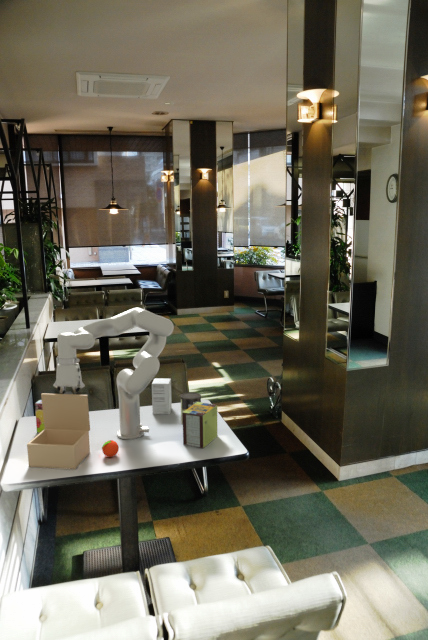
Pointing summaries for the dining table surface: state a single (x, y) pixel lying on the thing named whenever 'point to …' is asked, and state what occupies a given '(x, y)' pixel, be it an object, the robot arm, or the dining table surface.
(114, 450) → the clementine
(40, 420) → the snack box
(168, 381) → the supplement box
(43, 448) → the carton
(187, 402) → the coffee can
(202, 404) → the protein box
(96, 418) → the dining table surface
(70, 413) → the lid flap
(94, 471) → the dining table surface
